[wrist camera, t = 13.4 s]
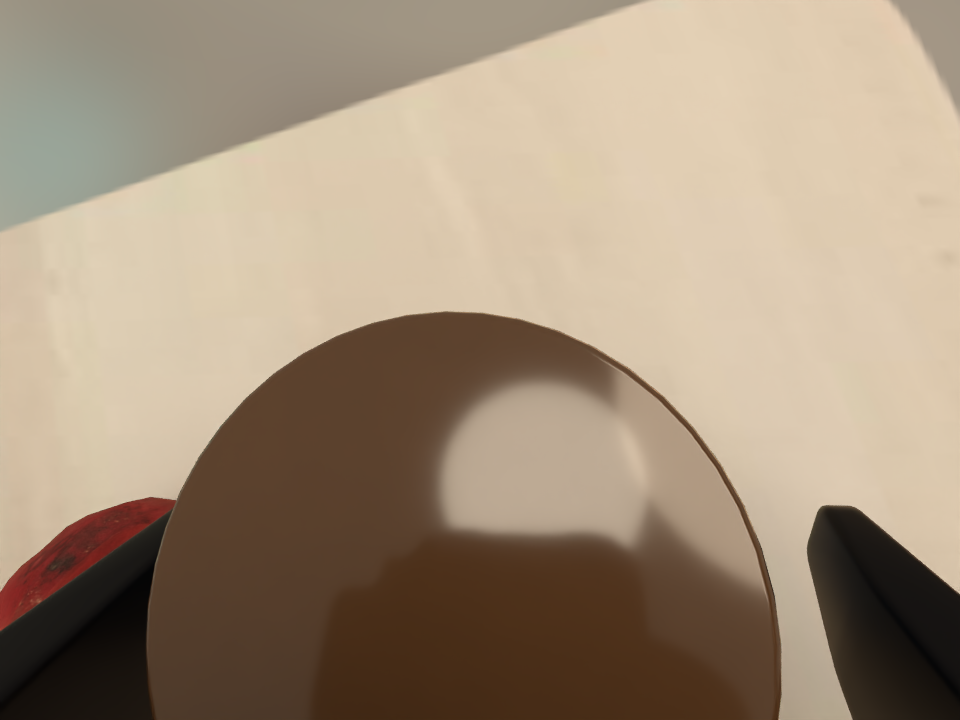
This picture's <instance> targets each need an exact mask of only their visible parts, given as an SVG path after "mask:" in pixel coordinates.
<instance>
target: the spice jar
mask: <svg viewBox="0 0 960 720" xmlns="http://www.w3.org/2000/svg"><path fill="white" fill-rule="evenodd" d="M145 648H146V668H147V687H148V695H149V701H150V707H151V713H152V720H778V719H779V711H780V703H781V695H782V683H781V639H780V632H779V625H778V617H777V610H776V603H775V596H774V592H773V588H772V584H771V581H770V577H769V573H768V570H767V566H766V562H765V559H764V555H763V551H762V548H761V545H760V543H759V541H758V538H757V536H756V533H755V531H754V528H753V526H752V524H751V521H750V519H749V516H748V514H747V511H746V509H745V506H744V504H743V502H742V501H741V499H740V497H739V495H738V494H737V492H736V490H735V488H734V486H733V485H732V483H731V481H730V479H729V478H728V476H727V474H726V472H725V471H724V469H723V467H722V465H721V464H720V462H719V461H718V460H717V458H716V457H715V455H714V454H713V453H712V451H711V450H710V449H709V447H708V446H707V445H706V443H705V442H704V441H703V439H702V438H701V437H700V435H699V434H698V433H697V431H696V430H695V429H694V427H693V426H692V425H691V424H690V423H689V422H688V421H687V420H686V419H685V418H684V417H683V416H682V415H681V414H680V413H679V412H678V411H677V410H676V409H675V408H674V406H673V405H672V404H671V403H670V402H669V401H668V400H667V399H666V398H665V397H664V396H663V395H662V394H660V393H659V392H658V391H657V390H655V389H654V388H653V387H652V386H651V385H649V384H648V383H647V382H646V381H644V380H643V379H642V378H641V377H639V376H638V375H637V374H636V373H634V372H633V371H632V370H631V369H629V368H628V367H626V366H625V365H623V364H621V363H620V362H618V361H616V360H615V359H613V358H612V357H610V356H608V355H607V354H605V353H603V352H602V351H600V350H599V349H597V348H595V347H593V346H591V345H589V344H587V343H585V342H582V341H580V340H578V339H576V338H573V337H571V336H569V335H567V334H565V333H562V332H560V331H558V330H555V329H551V328H548V327H545V326H542V325H538V324H535V323H532V322H528V321H525V320H522V319H517V318H511V317H505V316H499V315H493V314H487V313H477V312H448V311H443V312H433V313H422V314H412V315H405V316H401V317H396V318H392V319H388V320H383V321H379V322H374V323H371V324H368V325H365V326H363V327H360V328H357V329H354V330H352V331H349V332H346V333H343V334H341V335H338V336H336V337H334V338H332V339H330V340H328V341H326V342H324V343H322V344H321V345H319V346H317V347H315V348H313V349H311V350H309V351H307V352H305V353H303V354H302V355H300V356H299V357H297V358H296V359H295V360H293V361H292V362H290V363H289V364H287V365H286V366H284V367H283V368H281V369H280V370H278V371H277V372H276V373H274V374H273V375H272V376H271V377H269V378H268V379H267V380H266V381H265V382H264V383H263V384H261V385H260V386H259V387H258V388H257V389H256V390H255V391H254V392H252V393H251V394H250V395H249V396H248V397H247V398H246V399H245V400H244V401H243V402H242V403H241V404H240V405H239V406H238V408H237V409H236V410H235V411H234V412H233V413H232V414H231V415H230V416H229V418H228V419H227V420H226V421H225V422H224V423H223V424H222V425H221V427H220V428H219V429H218V431H217V432H216V434H215V435H214V436H213V438H212V439H211V441H210V442H209V444H208V445H207V446H206V448H205V449H204V451H203V452H202V454H201V455H200V456H199V458H198V460H197V462H196V463H195V465H194V467H193V469H192V471H191V473H190V474H189V476H188V478H187V480H186V482H185V484H184V485H183V487H182V489H181V491H180V493H179V496H178V498H177V501H176V503H175V506H174V508H173V510H172V513H171V515H170V518H169V520H168V523H167V525H166V528H165V531H164V535H163V538H162V542H161V545H160V549H159V552H158V556H157V559H156V563H155V567H154V573H153V579H152V585H151V590H150V596H149V602H148V612H147V630H146V647H145Z"/></svg>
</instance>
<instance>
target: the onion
mask: <svg viewBox="0 0 960 720" xmlns="http://www.w3.org/2000/svg"><path fill="white" fill-rule="evenodd" d="M176 501H177V500H170V499H162V498H154V497H149V498H145V499H140V500H136V501H131V502H126V503H123V504H120V505H117V506H114V507H111V508H108V509H105V510H102V511H99V512H96V513H93V514H90V515H87V516H86V517H84V518H82V519H80V520H78V521H77V522H75V523H73V524H71V525H70V526H68V527H66V528H65V529H64V530H63V531H62V532H61V533H60V534H58V535H57V536H56V537H55V538H54V539H53V540H52V541H51V542H50V543H49V544H48V545H46V546H45V547H44V548H43V549H42V550H41V551H40V552H39V553H37V554H36V555H35V556H34V557H32V558H31V559H30V560H28V561H27V562H26V563H25V564H23V565H22V566H21V567H20V568H19V569H18V570H17V571H16V573H15V574H14V575H13V576H12V577H11V578H10V579H9V580H8V582H7V583H6V585H5V586H4V588H3V589H2V591H1V592H0V631H1V630H2V629H4V628H5V627H6V626H8V625H9V624H11V623H12V622H13V621H15V620H16V619H18V618H19V617H20V616H22V615H23V614H25V613H26V612H27V611H29V610H30V609H32V608H33V607H35V606H36V605H37V604H39V603H40V602H42V601H43V600H44V599H46V598H47V597H49V596H50V595H51V594H53V593H54V592H56V591H57V590H58V589H60V588H61V587H63V586H64V585H66V584H67V583H68V582H70V581H71V580H73V579H74V578H75V577H77V576H78V575H80V574H81V573H82V572H84V571H85V570H87V569H88V568H89V567H91V566H92V565H94V564H95V563H96V562H98V561H99V560H101V559H102V558H104V557H105V556H106V555H108V554H109V553H111V552H112V551H113V550H115V549H116V548H118V547H119V546H120V545H122V544H123V543H125V542H126V541H127V540H129V539H130V538H132V537H133V536H134V535H136V534H137V533H139V532H140V531H141V530H143V529H144V528H146V527H147V526H149V525H150V524H151V523H153V522H154V521H156V520H157V519H158V518H160V517H161V516H163V515H164V514H165V513H167V512H168V511H170V510H171V509H172V508H174V506H175V503H176Z"/></svg>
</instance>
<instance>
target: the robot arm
mask: <svg viewBox="0 0 960 720" xmlns="http://www.w3.org/2000/svg"><path fill="white" fill-rule="evenodd" d="M172 510H173V508H172V509H171V510H170V511H168V512H167V513H165V514H164V515H163V516H161V517H160V518H158V519H157V520H156V521H154V522H153V523H151V524H150V525H149V526H147V527H146V528H144V529H143V530H141V531H140V532H139V533H137V534H136V535H134V536H133V537H132V538H130V539H129V540H127V541H126V542H125V543H123V544H122V545H120V546H119V547H118V548H116V549H115V550H113V551H112V552H111V553H109V554H108V555H106V556H105V557H104V558H102V559H101V560H99V561H98V562H96V563H95V564H94V565H92V566H91V567H89V568H88V569H87V570H85V571H84V572H82V573H81V574H80V575H78V576H77V577H75V578H74V579H73V580H71V581H70V582H68V583H67V584H66V585H64V586H63V587H61V588H60V589H58V590H57V591H56V592H54V593H53V594H51V595H50V596H49V597H47V598H46V599H44V600H43V601H42V602H40V603H39V604H37V605H36V606H35V607H33V608H32V609H30V610H29V611H27V612H26V613H25V614H23V615H22V616H20V617H19V618H18V619H16V620H15V621H13V622H12V623H11V624H9V625H8V626H6V627H5V628H4V629H2V630H1V631H0V720H152V713H151V707H150V701H149V695H148V687H147V668H146V648H145V647H146V630H147V612H148V602H149V596H150V590H151V585H152V579H153V573H154V567H155V563H156V559H157V556H158V552H159V549H160V545H161V542H162V538H163V535H164V531H165V528H166V525H167V523H168V520H169V518H170V515H171V513H172ZM807 556H808V562H809V566H810V570H811V574H812V579H813V583H814V587H815V591H816V595H817V599H818V603H819V607H820V611H821V615H822V619H823V624H824V628H825V632H826V636H827V640H828V644H829V648H830V652H831V656H832V660H833V663H834V667H835V671H836V674H837V677H838V680H839V683H840V686H841V688H842V691H843V694H844V697H845V700H846V702H847V705H848V708H849V710H850V713H851V716H852V719H853V720H960V594H959V593H958V592H956V591H955V590H954V589H953V588H952V587H950V586H949V585H948V584H947V583H946V582H944V581H943V580H942V579H941V578H940V577H939V576H937V575H936V574H935V573H934V572H933V571H931V570H930V569H929V568H928V567H927V566H925V565H924V564H923V563H922V562H921V561H920V560H918V559H917V558H916V557H915V556H914V555H912V554H911V553H910V552H909V551H908V550H906V549H905V548H904V547H903V546H902V545H901V544H899V543H898V542H897V541H896V540H895V539H893V538H892V537H891V536H890V535H889V534H887V533H886V532H885V531H884V530H883V529H882V528H880V527H879V526H878V525H877V524H876V523H874V522H873V521H872V520H871V519H870V518H868V517H867V516H866V515H865V514H864V513H863V512H861V511H860V510H859V509H857V508H855V507H852V506H834V505H825V506H822V507H821V508H820V509H819V510H818V512H817V515H816V518H815V521H814V524H813V528H812V531H811V534H810V537H809V540H808V545H807Z"/></svg>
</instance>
